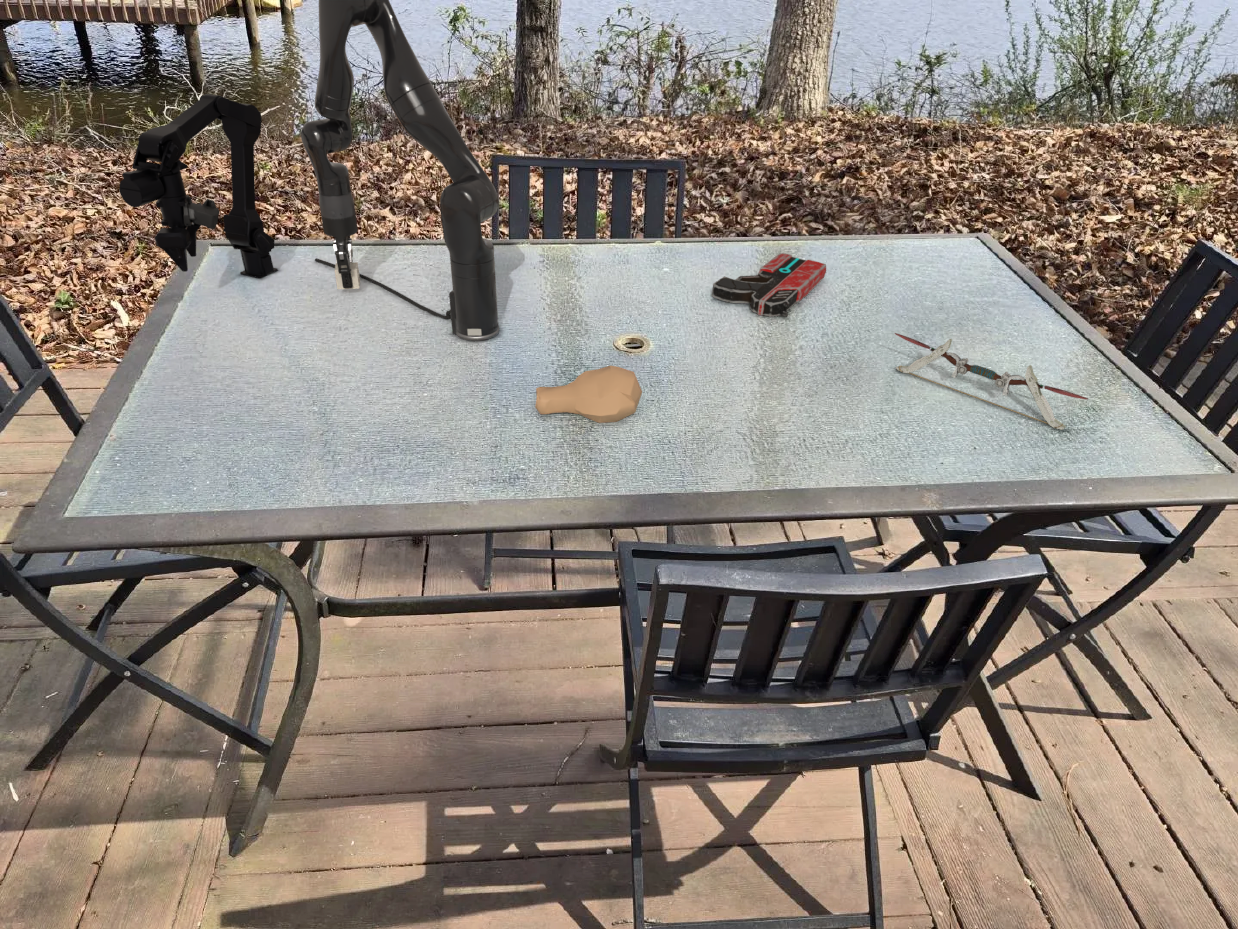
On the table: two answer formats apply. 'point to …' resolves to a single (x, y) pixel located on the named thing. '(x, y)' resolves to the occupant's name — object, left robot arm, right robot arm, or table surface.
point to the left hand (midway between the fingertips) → (189, 263)
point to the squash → (594, 395)
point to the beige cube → (354, 275)
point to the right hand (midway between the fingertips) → (348, 282)
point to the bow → (1000, 381)
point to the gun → (772, 285)
